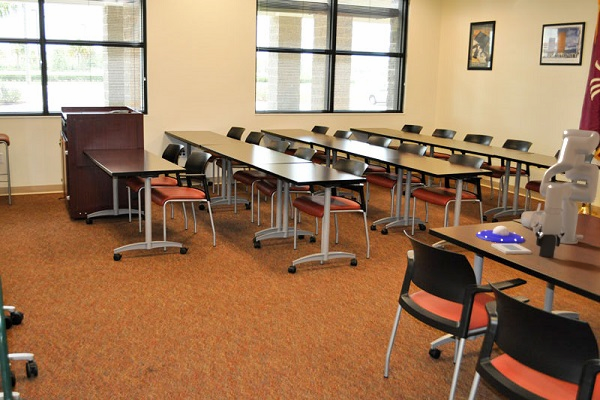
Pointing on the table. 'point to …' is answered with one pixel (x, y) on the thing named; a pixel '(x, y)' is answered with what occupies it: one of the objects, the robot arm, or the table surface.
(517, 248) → the plate
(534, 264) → the table surface
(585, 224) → the table surface
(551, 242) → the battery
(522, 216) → the vr headset
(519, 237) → the toy spaceship
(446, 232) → the table surface
